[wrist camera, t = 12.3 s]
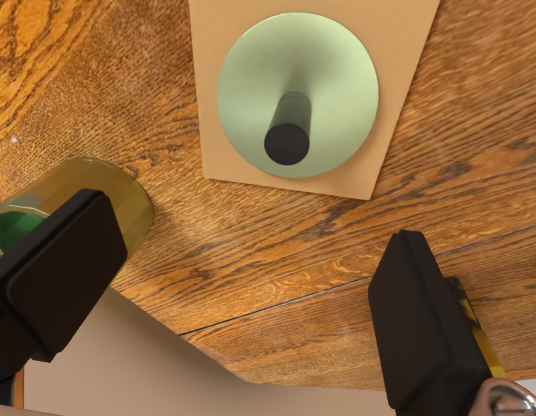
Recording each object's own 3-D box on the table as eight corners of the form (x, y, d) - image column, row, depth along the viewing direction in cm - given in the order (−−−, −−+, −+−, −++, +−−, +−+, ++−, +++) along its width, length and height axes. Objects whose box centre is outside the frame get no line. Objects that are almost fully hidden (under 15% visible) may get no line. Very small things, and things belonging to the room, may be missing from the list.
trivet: (205, 174, 28) (203, 177, 27) (188, -39, 18) (185, -40, 18) (368, 196, 27) (369, 200, 26) (443, -19, 17) (447, -19, 17)
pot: (76, 231, 36) (21, 285, 29) (39, 150, 29) (-45, 197, 22) (161, 244, 35) (123, 303, 28) (143, 164, 28) (88, 217, 22)
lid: (222, 162, 26) (193, 213, 20) (217, 3, 19) (169, 6, 13) (353, 179, 25) (364, 238, 19) (400, 19, 18) (442, 31, 12)
